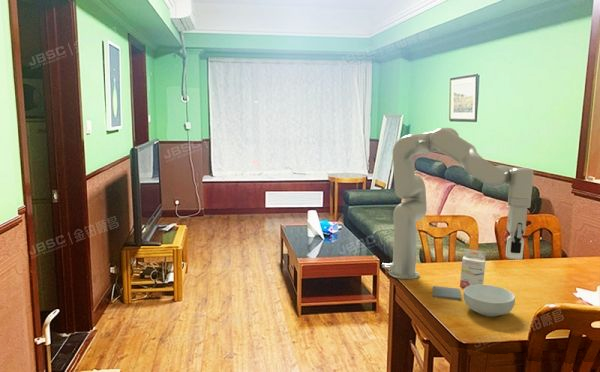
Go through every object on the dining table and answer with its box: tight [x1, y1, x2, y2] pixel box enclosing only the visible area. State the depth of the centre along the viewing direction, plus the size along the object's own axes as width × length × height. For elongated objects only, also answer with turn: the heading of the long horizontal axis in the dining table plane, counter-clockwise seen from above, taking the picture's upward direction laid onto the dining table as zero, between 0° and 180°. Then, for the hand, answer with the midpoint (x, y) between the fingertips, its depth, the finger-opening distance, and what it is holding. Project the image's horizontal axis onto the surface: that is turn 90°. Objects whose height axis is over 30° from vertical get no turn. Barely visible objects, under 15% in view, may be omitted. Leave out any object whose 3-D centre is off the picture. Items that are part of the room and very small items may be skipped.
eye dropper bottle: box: [505, 232, 525, 260], centre depth 171 cm, size 4×6×12 cm
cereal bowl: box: [463, 284, 516, 318], centre depth 163 cm, size 17×17×7 cm
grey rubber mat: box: [432, 285, 462, 301], centre depth 179 cm, size 10×10×1 cm
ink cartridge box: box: [459, 248, 486, 289], centre depth 186 cm, size 9×5×15 cm, turn 65°
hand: (514, 250), depth 171 cm, fingers closed on eye dropper bottle, 3 cm apart
